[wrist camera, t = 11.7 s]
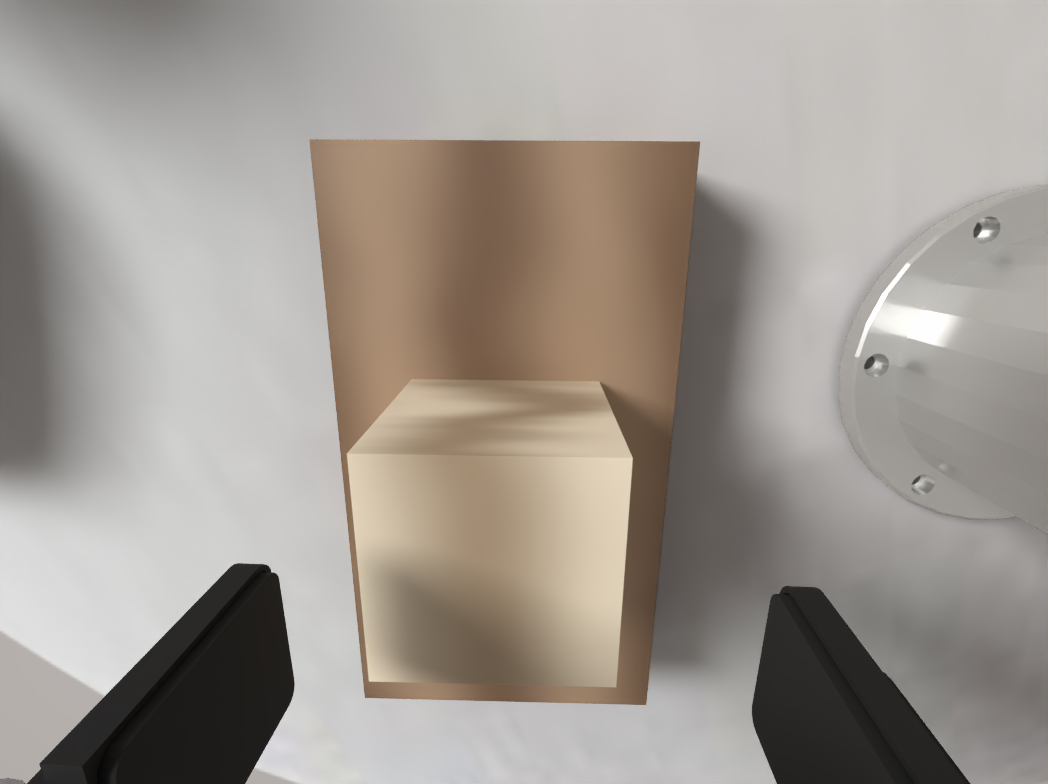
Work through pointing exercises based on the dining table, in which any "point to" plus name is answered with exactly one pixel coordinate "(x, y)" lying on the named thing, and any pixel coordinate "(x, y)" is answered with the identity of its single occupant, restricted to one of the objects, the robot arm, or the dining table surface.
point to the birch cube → (492, 534)
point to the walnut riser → (514, 313)
